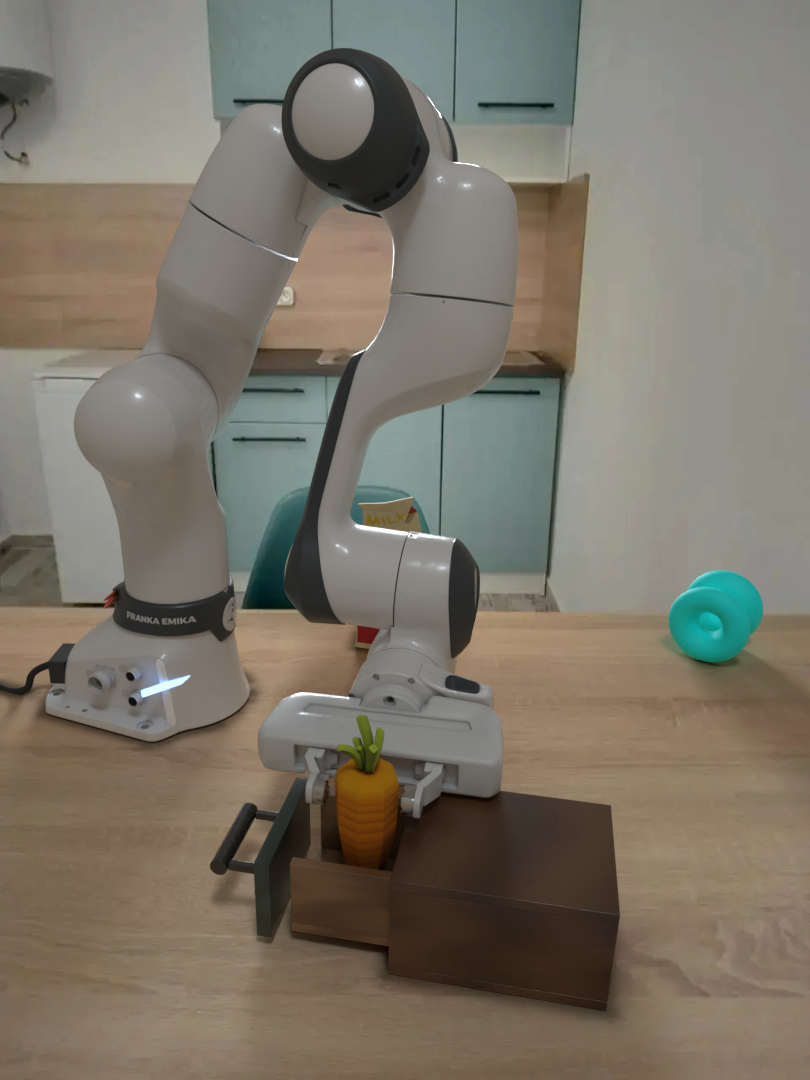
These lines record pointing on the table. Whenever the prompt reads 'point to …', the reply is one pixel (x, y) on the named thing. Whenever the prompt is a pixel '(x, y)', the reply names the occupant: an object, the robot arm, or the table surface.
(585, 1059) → the table surface
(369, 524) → the milk carton
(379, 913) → the drawer
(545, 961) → the cabinet
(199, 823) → the table surface
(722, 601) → the turquoise spool
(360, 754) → the carrot
